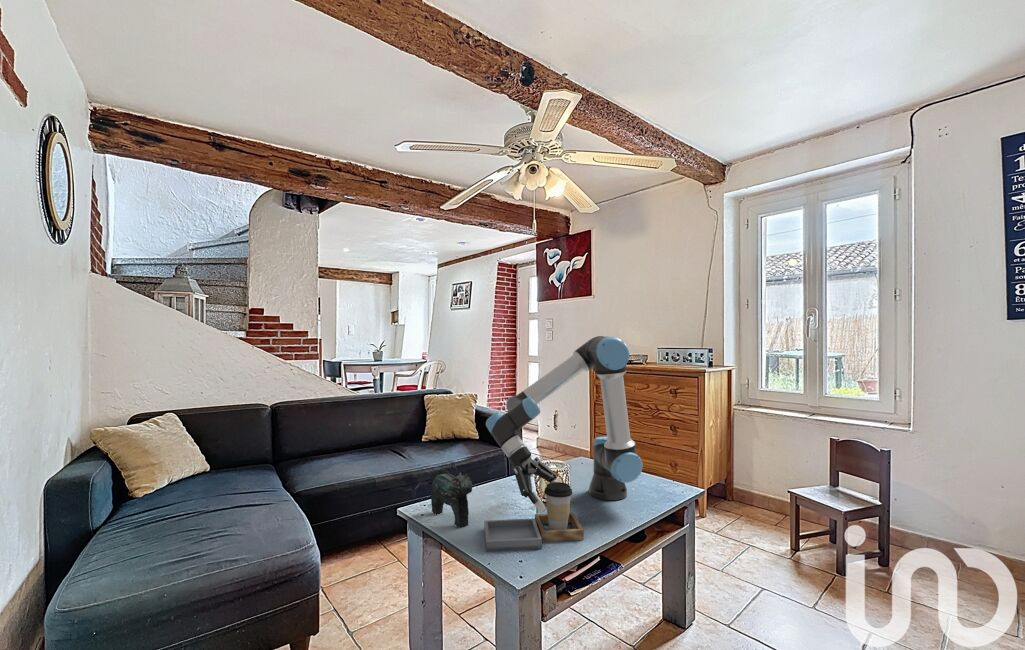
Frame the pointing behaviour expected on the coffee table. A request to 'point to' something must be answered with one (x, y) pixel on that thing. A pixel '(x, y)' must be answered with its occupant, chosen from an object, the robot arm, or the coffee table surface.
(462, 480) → the dark green textured figure
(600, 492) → the robot arm
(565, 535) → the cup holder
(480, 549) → the coffee table surface
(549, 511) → the coffee cup
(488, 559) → the coffee table surface
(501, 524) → the tray
